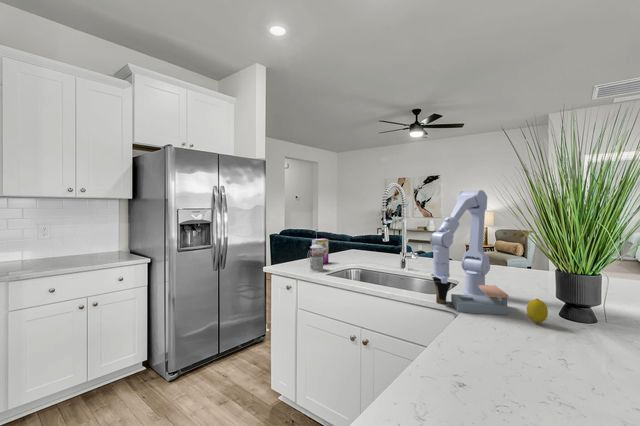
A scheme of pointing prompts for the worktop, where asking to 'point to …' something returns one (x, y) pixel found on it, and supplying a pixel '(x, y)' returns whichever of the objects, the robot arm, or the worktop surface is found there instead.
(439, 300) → the peg
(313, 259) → the french press
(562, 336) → the worktop surface
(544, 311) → the lemon
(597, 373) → the worktop surface
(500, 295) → the socket block
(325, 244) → the candy bar box
